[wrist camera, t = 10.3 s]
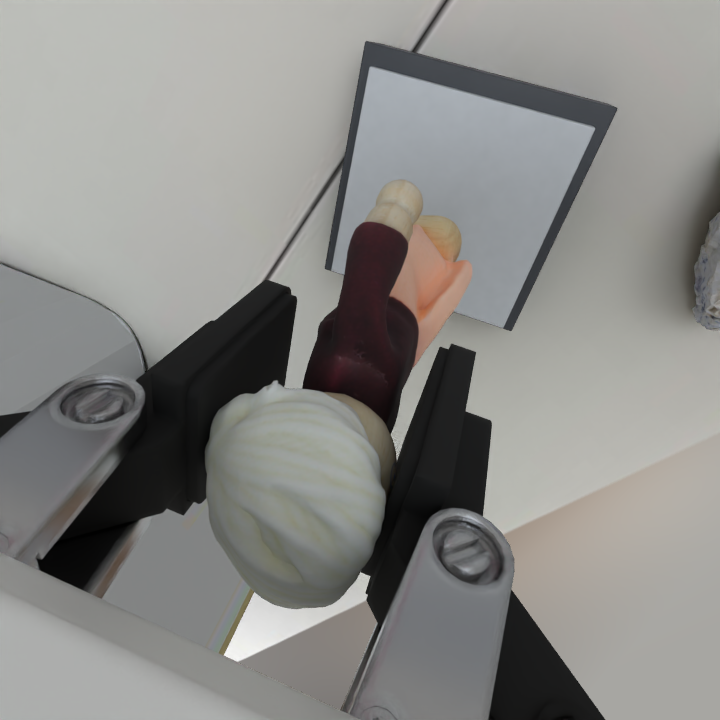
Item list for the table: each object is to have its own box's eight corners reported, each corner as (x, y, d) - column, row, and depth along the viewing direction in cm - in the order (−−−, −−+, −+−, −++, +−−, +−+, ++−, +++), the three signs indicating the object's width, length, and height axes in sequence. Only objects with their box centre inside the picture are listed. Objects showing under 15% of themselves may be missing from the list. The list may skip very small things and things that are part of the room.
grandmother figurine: (463, 356, 18) (396, 736, 8) (369, 345, 19) (200, 671, 9) (488, 142, 14) (416, 353, 4) (366, 141, 15) (45, 307, 5)
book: (-27, 284, 43) (-527, 430, 21) (-10, 214, 39) (-591, 307, 18) (291, 505, 46) (136, 824, 25) (333, 460, 43) (193, 787, 21)
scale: (610, 104, 23) (620, 109, 20) (512, 313, 29) (511, 336, 27) (378, 43, 24) (361, 40, 22) (337, 255, 31) (320, 272, 28)
